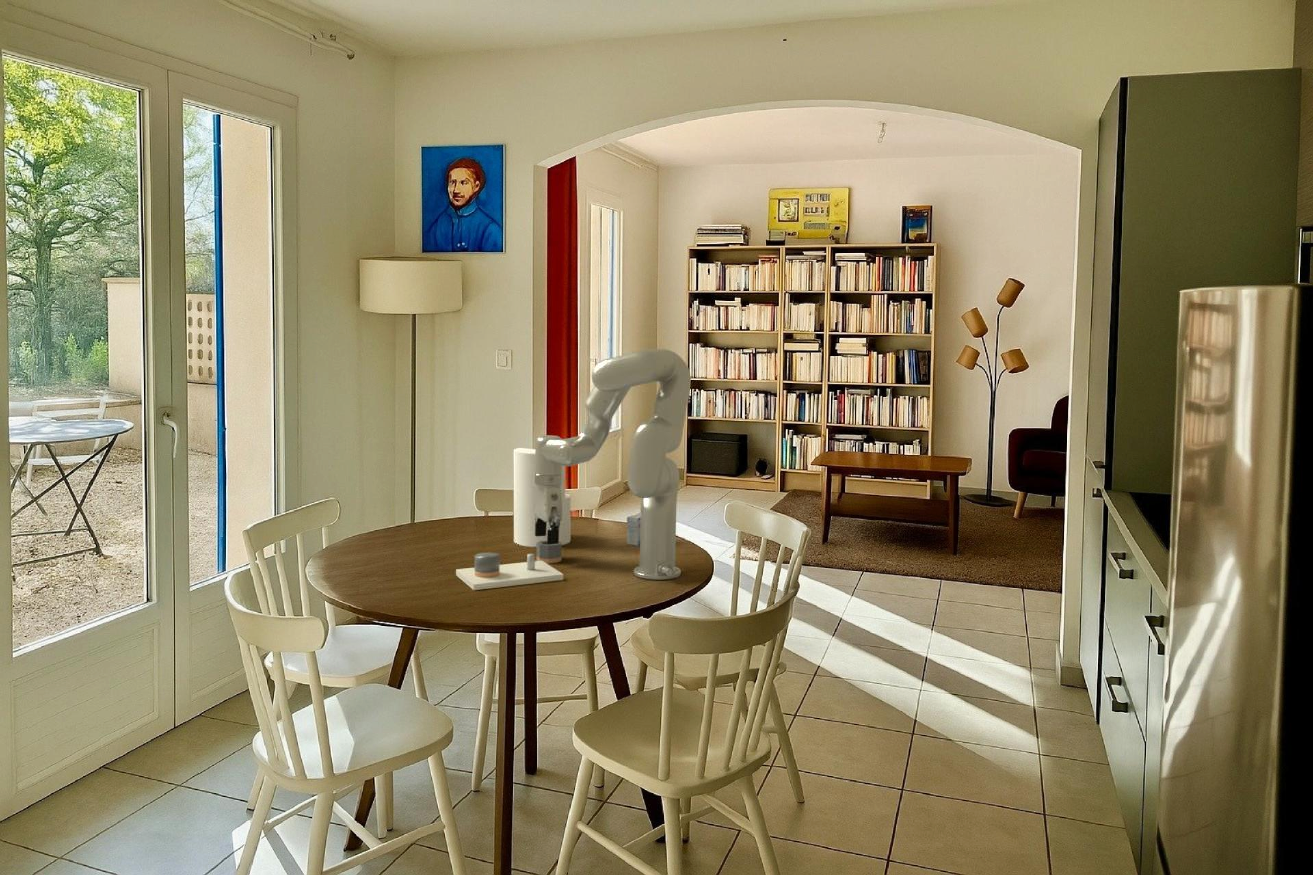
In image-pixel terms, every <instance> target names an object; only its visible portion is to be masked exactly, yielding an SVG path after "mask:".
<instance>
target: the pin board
mask: <svg viewBox="0 0 1313 875" xmlns="http://www.w3.org/2000/svg"><path fill="white" fill-rule="evenodd" d="M473 557H474V567H469V568H468V567H467V568H458V569H457V568H456V569H455V575H456V576H457V577H458V578H459V579H460V580H461V581H463V583H464V584H466V585H467V586H468V587H470V589H472V590H473V591H478V590H485V589H486V590H487V589H488V590H489V589H496V588H504V587H513V586H520V585H521V586H523V585H530V584H540V583H548V582H555V581H564V573H562V572H561V571H559V570H557V569H556V568H554V567H553V566H551V565H549V563H545V562H543V561H537V560H536V554H535V553H527V554H526V557H527V559H526V561H525V562H524V561H522V562H515V563H514V562H513V563H506V564H505V563H504V564H500V560H501V559H500V558H501V557H500V553H496V552H478V553H475V555H474V556H473Z"/></svg>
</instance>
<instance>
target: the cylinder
mask: <svg viewBox="0 0 1313 875" xmlns="http://www.w3.org/2000/svg"><path fill="white" fill-rule="evenodd" d="M535 449H536V448H535ZM535 449H534V448H527V447H517V448H514V449H513V543H514V544H516V543H517V544H516V545H518V544H519V546H522V547H523V546H524V547H531V548H536V543H537V542H539V541H546V540H547V531H548V530H549V528H548V523H547V522H546V536H535V517H536V516H535V495H536V485H535ZM560 487H561V494H562V520H561V521H560V526H559V527H560V529H559V542H561V546H563V545H567V544H569V543H570V542H571V532H572V531H571V530H572V529H571V528H572V527H571V526H572V525H571V521H572V520H571V517H572V515H571V512H572V511H571V510H572V509H571V508H572V506H571V504H572V502H571V500H572V497H571V494H569V493H567V492H566V466H563V465H562V485H561V486H560ZM552 524H553V523H551V525H552Z"/></svg>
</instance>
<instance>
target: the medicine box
mask: <svg viewBox="0 0 1313 875" xmlns="http://www.w3.org/2000/svg"><path fill="white" fill-rule="evenodd" d="M640 514H641V513H639V514H638V513H637V514H634V515H629V516H627V517H626V544H627V545H629V546H636V547H640Z"/></svg>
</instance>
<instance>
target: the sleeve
mask: <svg viewBox="0 0 1313 875" xmlns="http://www.w3.org/2000/svg"><path fill="white" fill-rule="evenodd" d="M535 548H536V550H535V551H536V552H535V553H536V554H535V559H536V561H543V562H545V563H546V564H556V563H559V562H561V561H562V545H561V542H559V543H558V544H547V540H546V541H539V542H537V543H536V547H535Z"/></svg>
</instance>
